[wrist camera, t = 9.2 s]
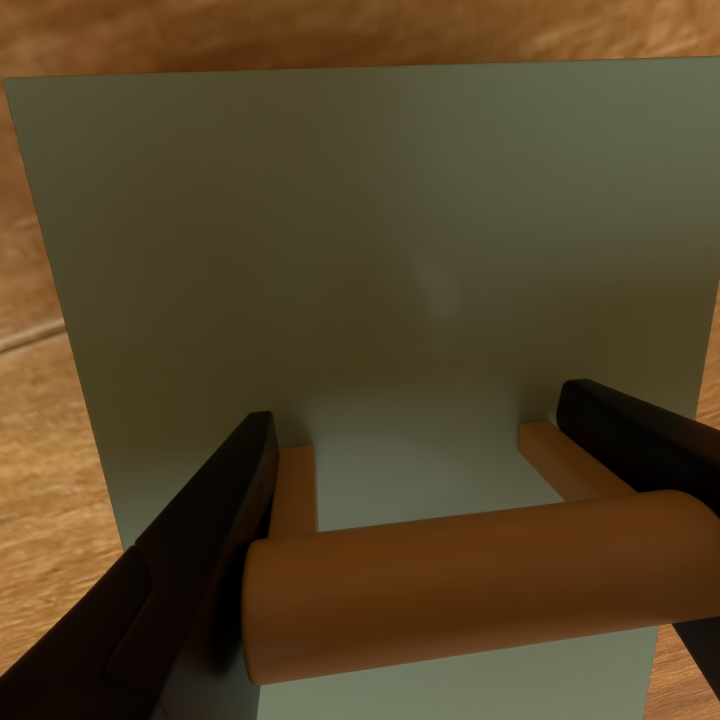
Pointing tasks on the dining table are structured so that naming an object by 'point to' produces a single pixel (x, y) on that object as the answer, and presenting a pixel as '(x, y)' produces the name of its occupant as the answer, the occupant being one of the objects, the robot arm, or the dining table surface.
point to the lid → (402, 355)
